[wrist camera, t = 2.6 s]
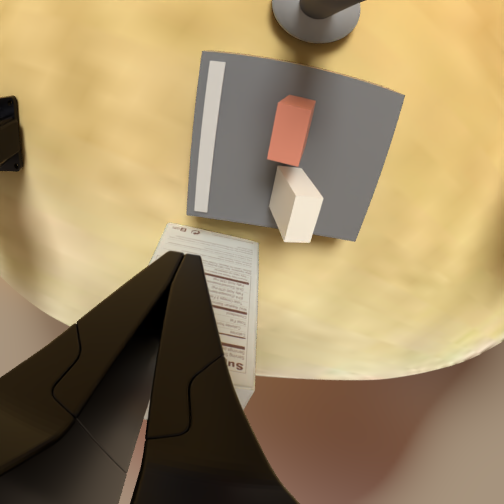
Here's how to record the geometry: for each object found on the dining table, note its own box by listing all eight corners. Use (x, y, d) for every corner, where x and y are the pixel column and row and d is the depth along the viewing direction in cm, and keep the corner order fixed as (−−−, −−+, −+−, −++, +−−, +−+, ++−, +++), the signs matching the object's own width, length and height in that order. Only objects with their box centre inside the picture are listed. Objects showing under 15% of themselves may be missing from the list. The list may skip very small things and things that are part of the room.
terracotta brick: (280, 140, 16) (267, 159, 13) (289, 94, 15) (277, 102, 12) (305, 146, 16) (298, 167, 13) (316, 100, 14) (311, 110, 12)
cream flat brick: (269, 206, 18) (283, 242, 16) (277, 165, 17) (295, 195, 14) (291, 207, 19) (309, 242, 16) (301, 167, 17) (323, 198, 14)
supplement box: (240, 304, 28) (229, 437, 18) (160, 286, 27) (120, 414, 17) (262, 239, 24) (259, 393, 14) (167, 217, 23) (106, 359, 13)
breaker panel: (195, 193, 22) (185, 216, 19) (211, 50, 16) (201, 51, 13) (345, 217, 22) (355, 243, 20) (386, 87, 17) (406, 96, 14)
